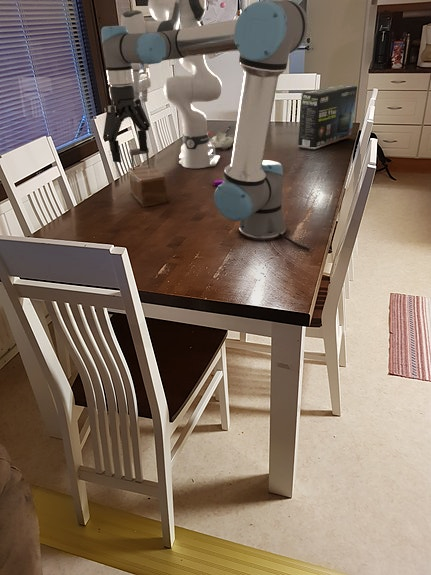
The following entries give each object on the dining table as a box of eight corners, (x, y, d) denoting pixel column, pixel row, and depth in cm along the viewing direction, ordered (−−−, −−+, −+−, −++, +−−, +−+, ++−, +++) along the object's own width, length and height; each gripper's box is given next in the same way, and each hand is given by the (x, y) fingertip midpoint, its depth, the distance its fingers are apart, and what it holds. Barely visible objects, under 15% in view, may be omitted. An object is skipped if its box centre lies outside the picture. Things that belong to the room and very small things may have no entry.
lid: (128, 170, 182) (125, 148, 178) (151, 167, 185) (148, 145, 181) (140, 183, 168) (137, 159, 164) (165, 178, 172) (163, 155, 167)
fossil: (227, 144, 234) (207, 125, 237) (216, 161, 241) (197, 143, 244) (244, 142, 248) (225, 124, 251) (234, 158, 254) (215, 141, 258)
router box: (314, 151, 231) (318, 94, 217) (296, 148, 237) (299, 92, 224) (352, 138, 251) (358, 85, 238) (335, 135, 258) (340, 83, 245)
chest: (131, 193, 187) (128, 171, 182) (154, 189, 190) (151, 167, 185) (143, 207, 173) (140, 183, 168) (167, 202, 176) (165, 179, 172)
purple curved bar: (213, 184, 193) (212, 179, 192) (230, 182, 194) (230, 177, 193) (223, 200, 176) (222, 195, 175) (242, 198, 177) (242, 193, 176)
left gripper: (136, 60, 175) (140, 99, 182) (120, 65, 157) (125, 108, 164) (152, 60, 174) (156, 99, 181) (138, 65, 156) (143, 108, 163)
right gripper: (137, 79, 148) (145, 146, 159) (82, 90, 130) (95, 165, 141) (156, 79, 145) (162, 148, 156) (102, 91, 126) (114, 167, 137)
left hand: (141, 103), depth 172 cm, fingers open, 8 cm apart
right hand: (131, 156), depth 148 cm, fingers open, 13 cm apart
